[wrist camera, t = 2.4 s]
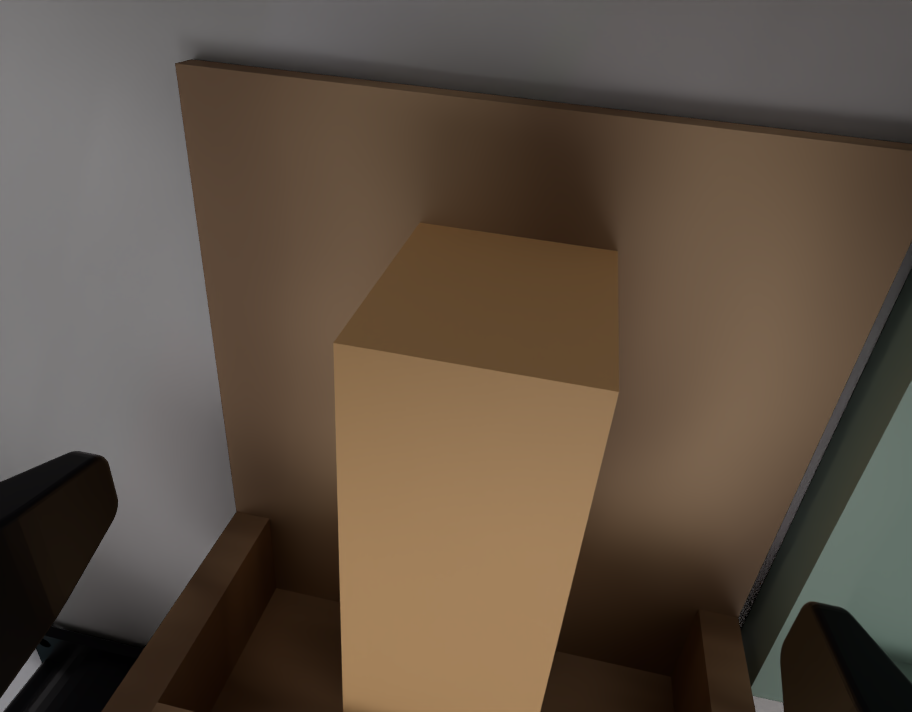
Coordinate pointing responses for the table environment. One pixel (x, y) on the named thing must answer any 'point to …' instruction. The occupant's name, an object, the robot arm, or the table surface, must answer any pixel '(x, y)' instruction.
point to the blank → (468, 465)
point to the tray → (851, 520)
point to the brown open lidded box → (640, 359)
